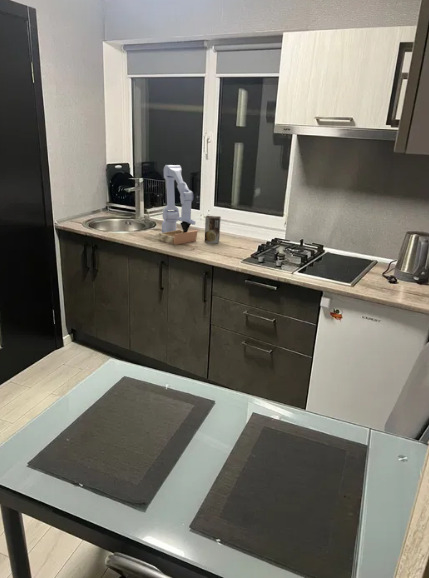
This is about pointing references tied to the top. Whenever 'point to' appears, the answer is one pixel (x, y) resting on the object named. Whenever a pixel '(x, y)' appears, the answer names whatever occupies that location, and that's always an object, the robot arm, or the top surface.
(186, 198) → the robot arm
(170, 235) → the cart bed
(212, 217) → the coffee box
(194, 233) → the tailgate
